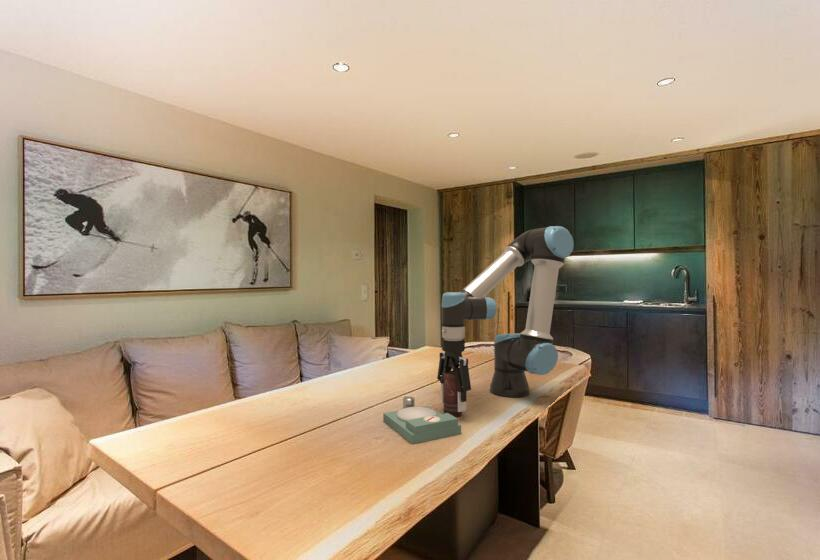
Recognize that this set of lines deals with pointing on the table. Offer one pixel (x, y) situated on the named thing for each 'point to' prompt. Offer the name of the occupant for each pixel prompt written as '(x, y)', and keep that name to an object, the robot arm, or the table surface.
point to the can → (451, 394)
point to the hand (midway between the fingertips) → (453, 406)
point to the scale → (422, 424)
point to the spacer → (408, 402)
